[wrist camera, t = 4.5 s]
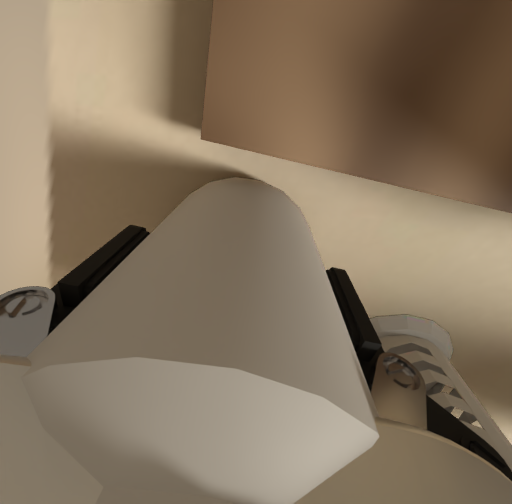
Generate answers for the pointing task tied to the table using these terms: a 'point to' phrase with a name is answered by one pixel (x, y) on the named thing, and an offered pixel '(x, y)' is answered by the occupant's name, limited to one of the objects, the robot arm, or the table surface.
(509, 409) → the table surface
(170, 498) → the can
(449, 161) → the riser
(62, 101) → the table surface
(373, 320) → the french press
